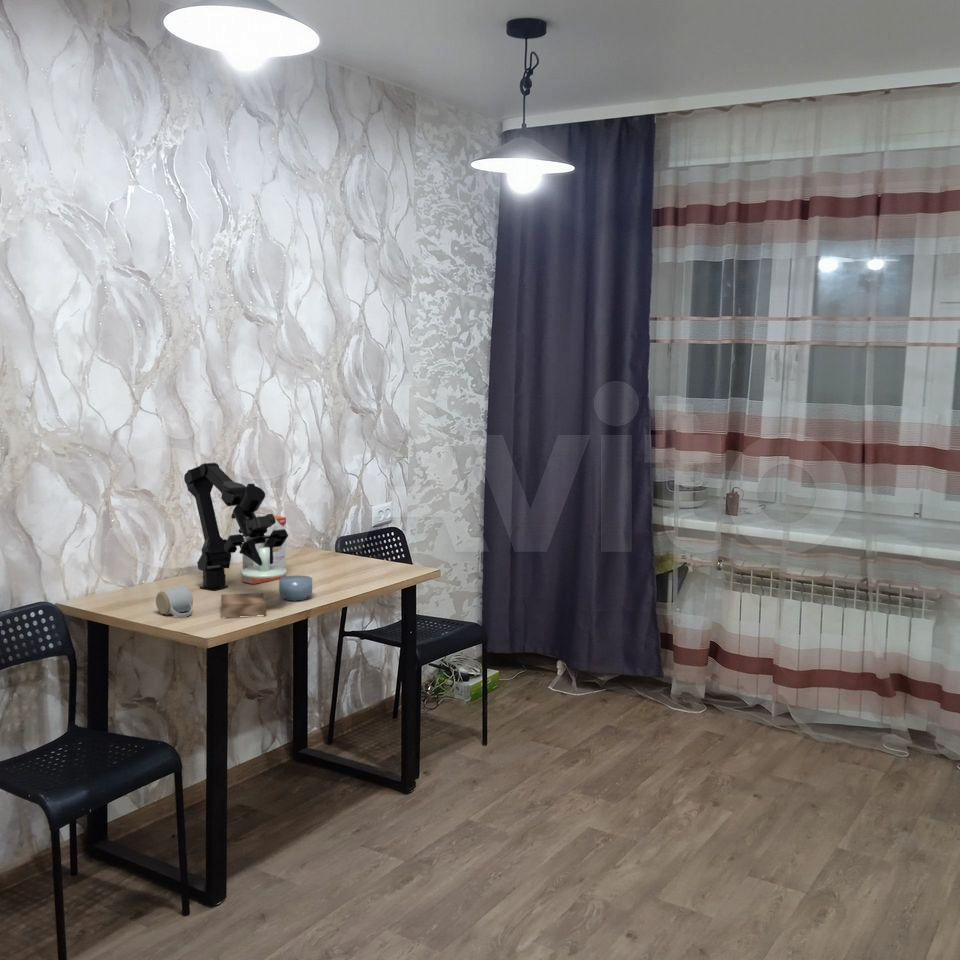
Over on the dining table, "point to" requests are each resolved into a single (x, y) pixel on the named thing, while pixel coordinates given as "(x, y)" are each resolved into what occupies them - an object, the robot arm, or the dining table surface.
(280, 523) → the cracker box
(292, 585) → the glazed bowl
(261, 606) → the walnut stand
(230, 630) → the dining table surface
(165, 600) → the ceramic mug
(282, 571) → the lid
